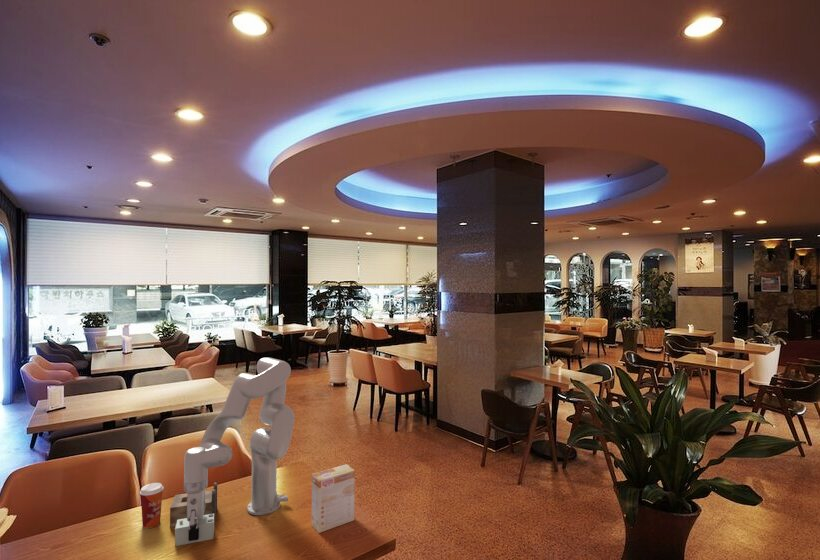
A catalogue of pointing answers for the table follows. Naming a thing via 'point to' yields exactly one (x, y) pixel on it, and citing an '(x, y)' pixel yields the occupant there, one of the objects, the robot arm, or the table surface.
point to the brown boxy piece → (180, 505)
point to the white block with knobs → (204, 530)
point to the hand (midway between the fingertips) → (195, 533)
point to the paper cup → (151, 504)
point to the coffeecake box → (332, 497)
